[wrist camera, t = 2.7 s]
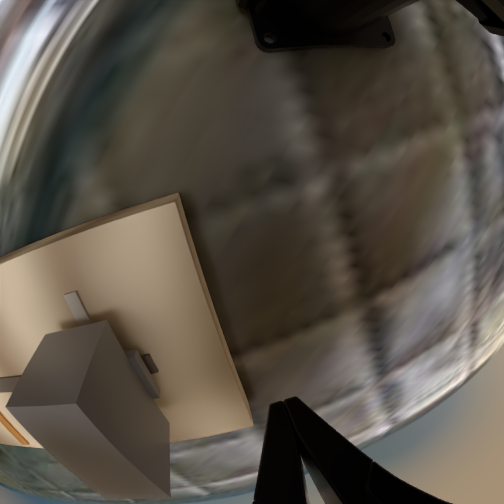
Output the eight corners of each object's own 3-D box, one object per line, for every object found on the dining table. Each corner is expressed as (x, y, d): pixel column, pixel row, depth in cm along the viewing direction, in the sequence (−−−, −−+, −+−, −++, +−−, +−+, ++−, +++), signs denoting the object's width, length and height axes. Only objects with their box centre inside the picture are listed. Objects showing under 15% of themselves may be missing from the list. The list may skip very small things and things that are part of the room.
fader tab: (117, 310, 10) (85, 402, 6) (175, 414, 12) (177, 496, 8) (44, 328, 10) (0, 406, 5) (110, 422, 12) (99, 497, 8)
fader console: (178, 192, 11) (174, 202, 9) (247, 400, 16) (254, 428, 14) (-87, 302, 10) (-103, 316, 7) (-6, 425, 14) (-14, 443, 12)
